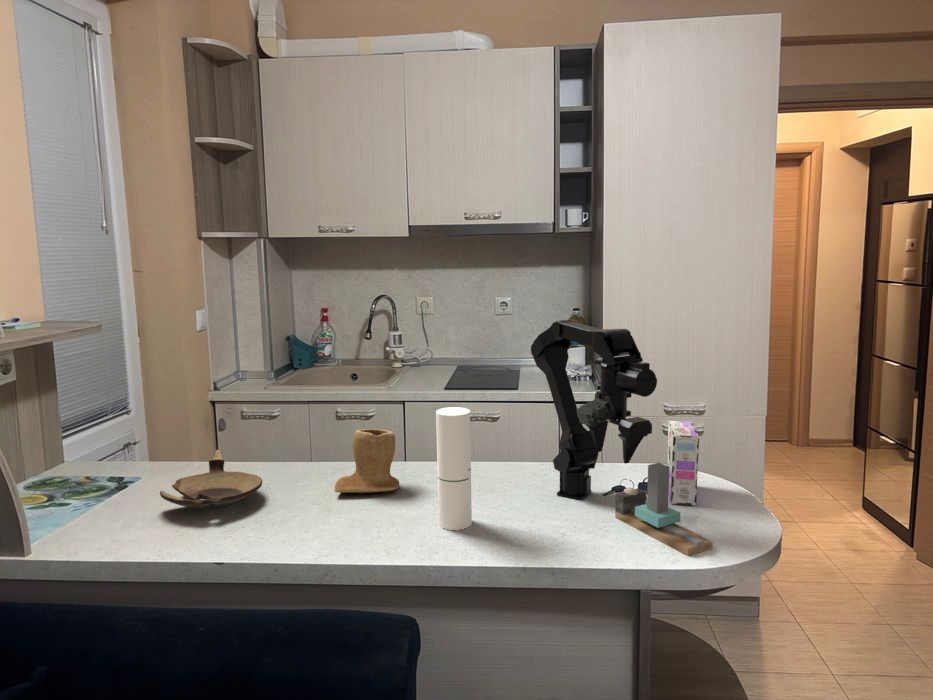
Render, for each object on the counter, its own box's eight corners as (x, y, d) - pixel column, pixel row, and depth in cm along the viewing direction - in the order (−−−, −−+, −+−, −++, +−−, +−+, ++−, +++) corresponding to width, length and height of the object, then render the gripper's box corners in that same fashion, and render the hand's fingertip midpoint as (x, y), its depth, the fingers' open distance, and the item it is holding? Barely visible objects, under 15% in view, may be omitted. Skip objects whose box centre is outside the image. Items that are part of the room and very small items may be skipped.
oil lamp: (140, 523, 157) (137, 490, 156) (204, 476, 187) (202, 448, 185) (238, 526, 155) (235, 492, 153) (286, 478, 184) (285, 450, 183)
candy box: (697, 506, 161) (699, 436, 158) (670, 505, 162) (672, 435, 160) (690, 485, 175) (693, 420, 172) (665, 483, 176) (667, 419, 173)
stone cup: (400, 479, 182) (399, 422, 179) (398, 497, 170) (396, 436, 167) (341, 481, 181) (338, 424, 179) (334, 498, 169) (331, 438, 167)
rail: (614, 516, 156) (614, 491, 155) (637, 511, 159) (637, 486, 158) (687, 556, 137) (688, 527, 136) (711, 548, 140) (713, 520, 139)
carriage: (634, 515, 150) (635, 463, 148) (656, 510, 153) (657, 458, 151) (657, 527, 144) (659, 473, 142) (680, 521, 147) (682, 468, 145)
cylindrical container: (476, 519, 156) (474, 408, 152) (465, 532, 149) (463, 416, 145) (445, 515, 158) (443, 406, 154) (433, 528, 152) (430, 414, 148)
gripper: (557, 383, 158) (557, 451, 160) (612, 400, 141) (610, 476, 144) (597, 378, 163) (596, 444, 165) (654, 394, 146) (652, 467, 149)
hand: (612, 457), depth 156 cm, fingers open, 9 cm apart
